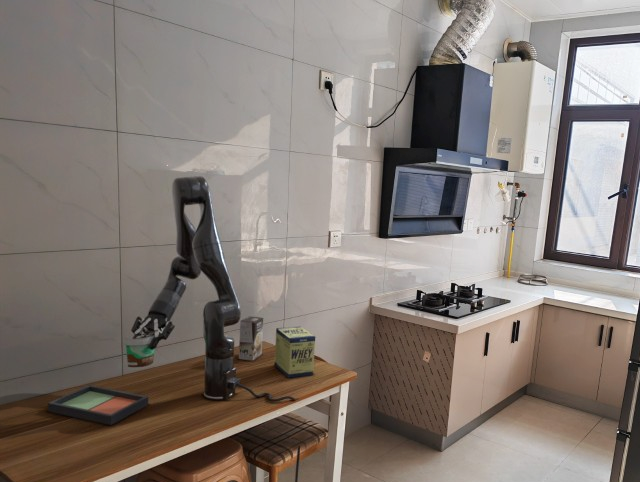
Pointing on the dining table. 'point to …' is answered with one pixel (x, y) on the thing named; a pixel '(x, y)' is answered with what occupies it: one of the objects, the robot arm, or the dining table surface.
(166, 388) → the dining table surface
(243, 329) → the coffee box
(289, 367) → the protein box
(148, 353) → the food container
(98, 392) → the sorting tray
